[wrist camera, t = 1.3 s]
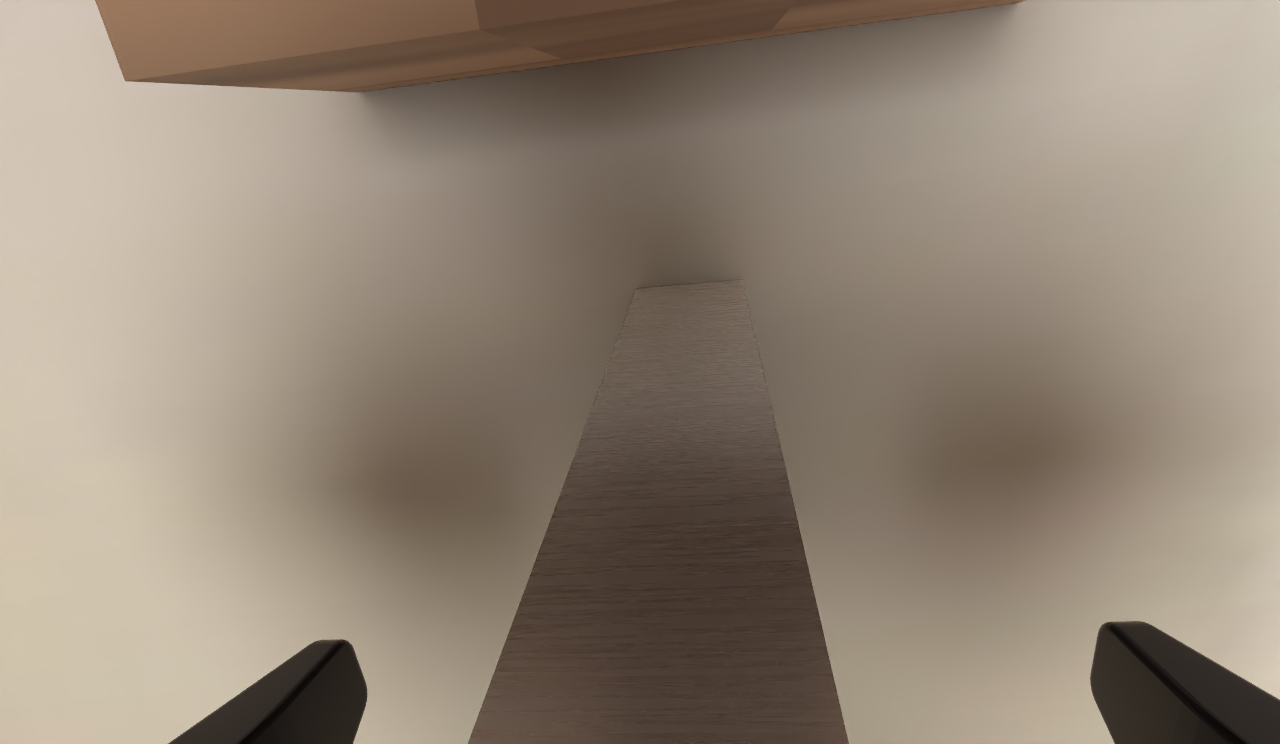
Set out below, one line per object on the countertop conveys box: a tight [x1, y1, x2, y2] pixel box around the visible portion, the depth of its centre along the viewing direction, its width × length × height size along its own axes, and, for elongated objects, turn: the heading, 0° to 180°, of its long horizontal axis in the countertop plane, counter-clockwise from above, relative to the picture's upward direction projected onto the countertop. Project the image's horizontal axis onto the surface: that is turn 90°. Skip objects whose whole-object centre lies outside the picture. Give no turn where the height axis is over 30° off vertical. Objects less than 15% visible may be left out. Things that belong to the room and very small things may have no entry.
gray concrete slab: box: [468, 279, 849, 744], centre depth 9 cm, size 6×2×10 cm, turn 6°
